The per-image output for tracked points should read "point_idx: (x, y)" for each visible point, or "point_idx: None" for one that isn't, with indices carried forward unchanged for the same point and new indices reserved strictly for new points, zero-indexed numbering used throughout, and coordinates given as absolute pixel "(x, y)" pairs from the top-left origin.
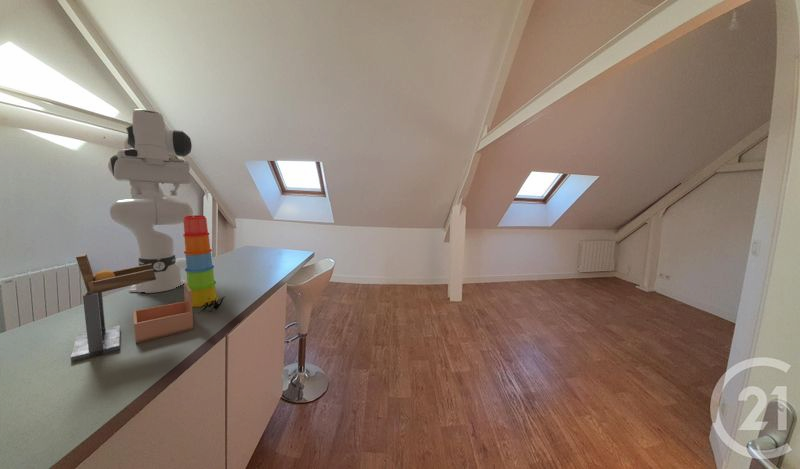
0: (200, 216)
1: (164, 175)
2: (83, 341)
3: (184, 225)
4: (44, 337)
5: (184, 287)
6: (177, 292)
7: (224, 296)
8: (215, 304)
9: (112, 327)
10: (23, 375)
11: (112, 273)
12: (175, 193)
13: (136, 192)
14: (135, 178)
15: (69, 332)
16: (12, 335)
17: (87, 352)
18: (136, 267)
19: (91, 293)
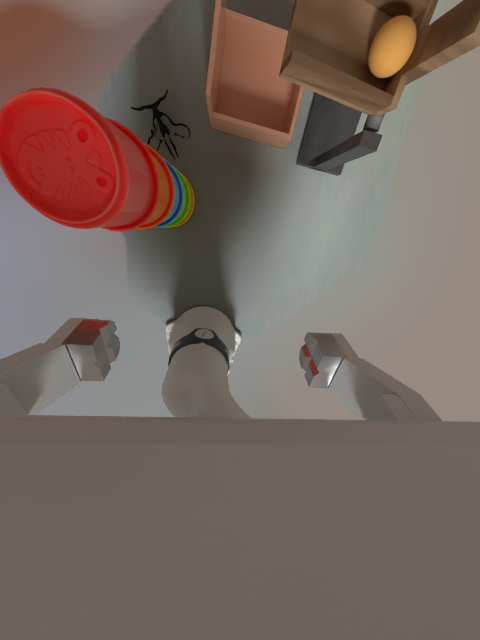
0: (28, 196)
1: (18, 566)
2: (346, 130)
3: (139, 172)
4: (354, 219)
5: (212, 86)
6: (189, 288)
7: (132, 107)
8: (158, 99)
9: (307, 161)
10: (407, 86)
11: (387, 26)
12: (74, 324)
13: (343, 337)
14: (445, 434)
15: (334, 214)
16: (367, 257)
17: None
18: (325, 64)
19: None
